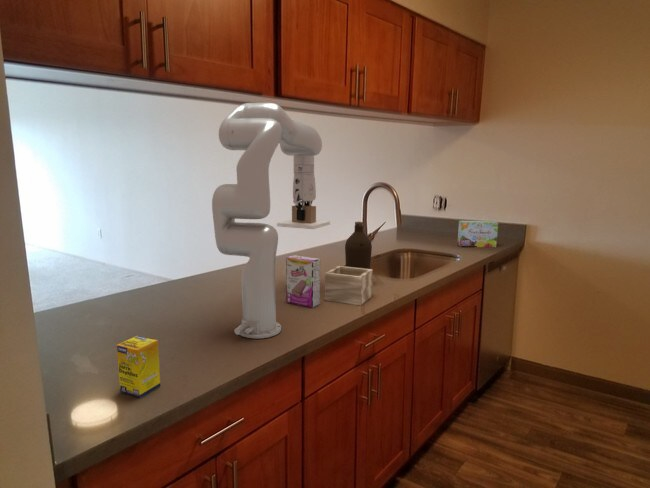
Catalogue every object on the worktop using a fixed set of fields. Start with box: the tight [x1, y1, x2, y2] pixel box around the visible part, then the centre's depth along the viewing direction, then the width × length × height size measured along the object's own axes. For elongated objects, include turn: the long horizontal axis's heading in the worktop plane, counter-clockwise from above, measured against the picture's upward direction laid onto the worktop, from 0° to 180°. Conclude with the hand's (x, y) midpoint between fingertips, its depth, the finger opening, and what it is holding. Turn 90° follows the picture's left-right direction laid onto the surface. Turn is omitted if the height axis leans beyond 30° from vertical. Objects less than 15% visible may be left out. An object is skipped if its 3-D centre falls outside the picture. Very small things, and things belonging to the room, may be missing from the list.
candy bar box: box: [285, 254, 321, 309], centre depth 156 cm, size 11×5×16 cm, turn 59°
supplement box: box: [116, 335, 161, 399], centre depth 98 cm, size 6×6×11 cm
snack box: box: [456, 220, 499, 248], centre depth 263 cm, size 21×6×15 cm, turn 90°
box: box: [324, 265, 374, 306], centre depth 164 cm, size 12×13×10 cm
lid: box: [276, 205, 331, 230], centre depth 169 cm, size 14×15×7 cm
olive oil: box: [344, 221, 373, 269], centre depth 182 cm, size 11×11×25 cm
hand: (303, 219), depth 170 cm, fingers closed on lid, 4 cm apart
